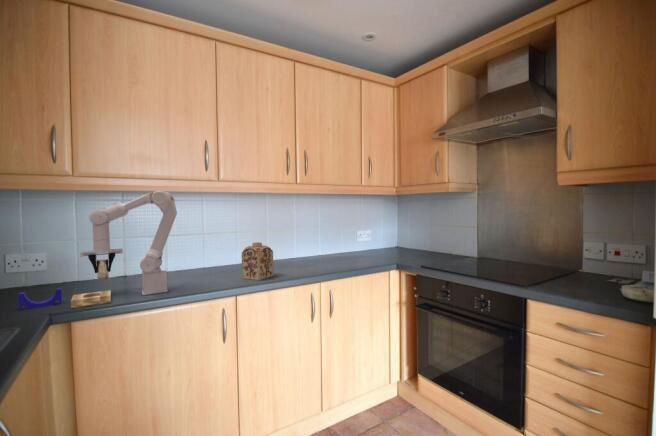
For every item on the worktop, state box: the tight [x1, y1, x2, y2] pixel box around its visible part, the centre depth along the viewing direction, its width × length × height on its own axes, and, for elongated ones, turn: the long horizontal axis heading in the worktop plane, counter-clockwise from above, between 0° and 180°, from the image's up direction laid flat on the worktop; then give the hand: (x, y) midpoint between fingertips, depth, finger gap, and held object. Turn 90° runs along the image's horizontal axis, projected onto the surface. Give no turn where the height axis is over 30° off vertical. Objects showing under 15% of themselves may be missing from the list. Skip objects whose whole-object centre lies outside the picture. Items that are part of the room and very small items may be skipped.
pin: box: [96, 258, 110, 281], centre depth 137 cm, size 4×4×8 cm
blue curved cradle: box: [18, 287, 63, 311], centre depth 124 cm, size 12×4×6 cm, turn 126°
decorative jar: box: [241, 241, 275, 281], centre depth 168 cm, size 12×12×18 cm
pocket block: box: [70, 289, 112, 310], centre depth 127 cm, size 12×10×3 cm
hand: (102, 272), depth 137 cm, fingers closed on pin, 4 cm apart
